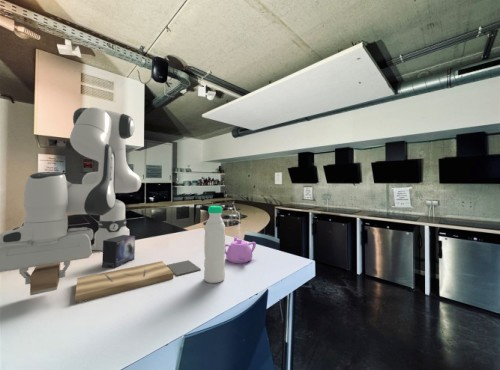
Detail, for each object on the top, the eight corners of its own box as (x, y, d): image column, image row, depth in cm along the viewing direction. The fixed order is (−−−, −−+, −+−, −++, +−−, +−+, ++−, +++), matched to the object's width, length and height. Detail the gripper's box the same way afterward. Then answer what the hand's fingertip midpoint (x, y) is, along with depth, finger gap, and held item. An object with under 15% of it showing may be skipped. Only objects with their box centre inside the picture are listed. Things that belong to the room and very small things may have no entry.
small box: (115, 268, 81) (115, 241, 81) (101, 267, 82) (101, 240, 82) (135, 259, 91) (135, 235, 91) (122, 258, 93) (123, 234, 93)
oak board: (77, 284, 68) (77, 278, 68) (161, 266, 84) (162, 261, 84) (75, 303, 57) (75, 295, 57) (173, 278, 73) (173, 272, 73)
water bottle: (199, 279, 72) (200, 206, 72) (216, 273, 77) (217, 204, 77) (212, 286, 67) (213, 207, 67) (229, 279, 72) (229, 206, 73)
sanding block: (36, 282, 61) (37, 264, 61) (60, 277, 64) (60, 261, 64) (30, 295, 54) (30, 276, 54) (56, 289, 57) (56, 271, 57)
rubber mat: (166, 266, 84) (166, 264, 84) (188, 261, 89) (188, 260, 89) (176, 276, 74) (176, 274, 74) (200, 270, 80) (200, 269, 80)
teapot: (234, 253, 101) (234, 234, 101) (260, 258, 93) (260, 238, 94) (218, 260, 90) (218, 240, 91) (245, 267, 83) (246, 244, 83)
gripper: (93, 224, 67) (92, 267, 68) (-5, 232, 55) (-5, 285, 55) (93, 228, 62) (93, 274, 63) (-14, 238, 50) (-15, 296, 50)
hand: (46, 279), depth 59 cm, fingers closed on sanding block, 5 cm apart
